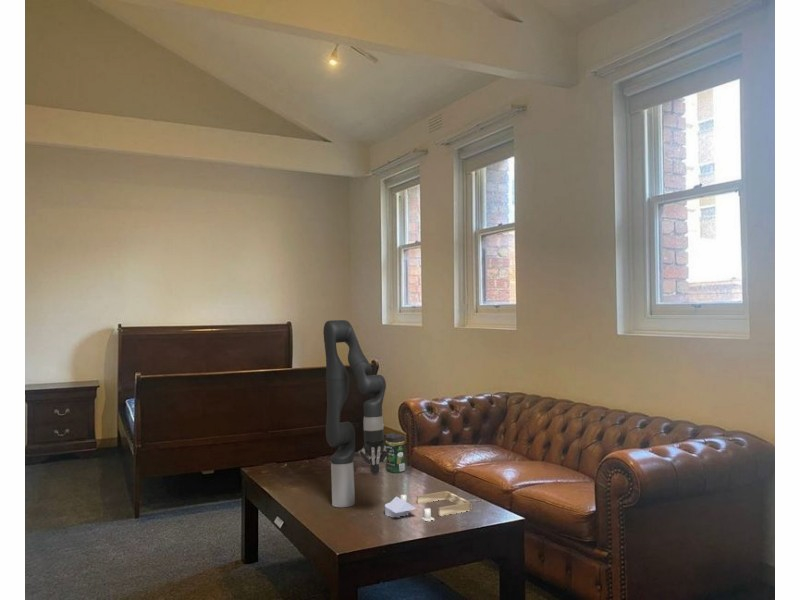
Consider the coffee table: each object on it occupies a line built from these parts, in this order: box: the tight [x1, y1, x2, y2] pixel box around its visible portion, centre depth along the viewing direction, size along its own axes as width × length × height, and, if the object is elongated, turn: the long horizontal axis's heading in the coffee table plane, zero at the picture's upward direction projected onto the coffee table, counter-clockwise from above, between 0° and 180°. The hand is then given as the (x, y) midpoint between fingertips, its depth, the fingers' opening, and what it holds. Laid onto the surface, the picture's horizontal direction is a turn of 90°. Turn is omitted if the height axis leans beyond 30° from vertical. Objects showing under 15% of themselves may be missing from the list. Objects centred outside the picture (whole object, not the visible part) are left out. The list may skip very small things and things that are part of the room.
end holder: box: [416, 490, 473, 517], centre depth 244 cm, size 19×14×3 cm
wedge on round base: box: [384, 495, 417, 518], centre depth 236 cm, size 9×7×13 cm
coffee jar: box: [384, 432, 406, 474], centre depth 304 cm, size 10×8×19 cm
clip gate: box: [400, 493, 435, 522], centre depth 239 cm, size 25×4×4 cm, turn 25°
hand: (374, 474), depth 233 cm, fingers closed
